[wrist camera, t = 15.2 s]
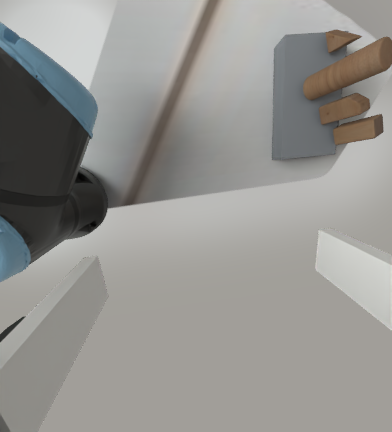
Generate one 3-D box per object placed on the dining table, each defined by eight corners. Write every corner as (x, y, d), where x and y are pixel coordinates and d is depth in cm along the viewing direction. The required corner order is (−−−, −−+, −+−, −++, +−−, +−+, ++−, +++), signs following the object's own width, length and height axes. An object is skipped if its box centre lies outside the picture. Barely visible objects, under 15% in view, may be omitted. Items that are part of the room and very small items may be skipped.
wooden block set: (339, 138, 40) (410, 124, 31) (314, 154, 37) (384, 143, 28) (324, 37, 34) (407, -18, 25) (293, 45, 31) (375, -13, 22)
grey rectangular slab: (272, 159, 42) (281, 159, 38) (274, 48, 36) (285, 34, 32) (320, 154, 42) (334, 154, 38) (330, 44, 37) (348, 31, 33)
